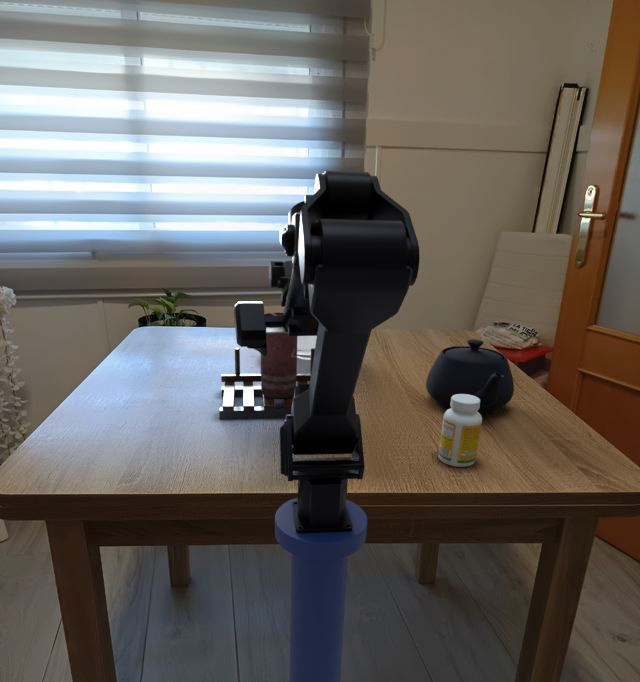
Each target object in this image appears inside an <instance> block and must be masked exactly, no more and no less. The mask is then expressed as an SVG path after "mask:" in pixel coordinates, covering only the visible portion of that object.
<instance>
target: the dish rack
mask: <svg viewBox="0 0 640 682" xmlns="http://www.w3.org/2000/svg"><path fill="white" fill-rule="evenodd" d="M240 350H241V348H239V347H236V348H234V373H221V375H220V376H221V377H220V378H221V379H220V381H221V383H224V385H222V386H221V391H220V392H221V398H223V399H222V406H219V411H218V414H219V415H218V416H219V417H218V418H219V420H258V419H260V420H261V419H285V416H286V415H291V408H292V402H293V399H294V396H293V397H292V398H290V399H285V400H281V401H282V405H276V404H275V400H274V399H269V398H266V397H265V396H264V395H263V394H262V392H261V385H254V383H261V373H241V351H240ZM314 352H315V348H311V364H310V374H297V383H296V386H297V385H298V384H309V382H310V379H311V372H312V366H313V359H314ZM236 383H242V384H243V385H236ZM235 398H242V399H243V400H242V401H243V403H242V404H243V406H235ZM255 398H262V404H263V406H262V405H261V406H259V405H258V406H256V405H255Z"/></svg>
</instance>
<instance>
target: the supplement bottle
mask: <svg viewBox="0 0 640 682" xmlns="http://www.w3.org/2000/svg"><path fill="white" fill-rule="evenodd" d="M450 405H451V408H450V409H446V410H445V412H444V413H443V417H442V427H441V432H440V433H441V434H440V441H439V449H438V459H439V460H440V461H441V462H442V463H443V464H445V465H448V466H451V467H456V468H465V467H471V466H473V465H474V464H475V463H476V460H477V454H478V449H479V443H480V442H479V441H480V435H481V429H482V423H483V417H482V414H480V413H479V412H477V411H478V409H479V408H480V399H479V398H478V397H476V396H473V395H468V394H456V395H453V396H452V397H451V403H450Z"/></svg>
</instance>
